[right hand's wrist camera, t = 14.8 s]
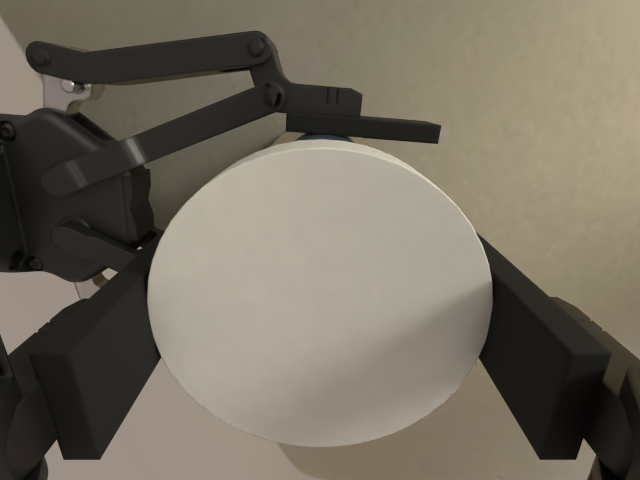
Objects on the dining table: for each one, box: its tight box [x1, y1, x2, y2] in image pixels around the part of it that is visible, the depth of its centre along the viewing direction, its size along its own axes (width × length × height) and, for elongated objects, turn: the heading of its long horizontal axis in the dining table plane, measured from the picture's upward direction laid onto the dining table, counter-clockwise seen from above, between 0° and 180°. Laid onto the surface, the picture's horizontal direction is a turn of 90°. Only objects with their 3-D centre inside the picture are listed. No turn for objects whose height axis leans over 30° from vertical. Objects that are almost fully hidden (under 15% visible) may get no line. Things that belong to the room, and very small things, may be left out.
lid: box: [147, 139, 493, 447], centre depth 11 cm, size 9×9×2 cm
